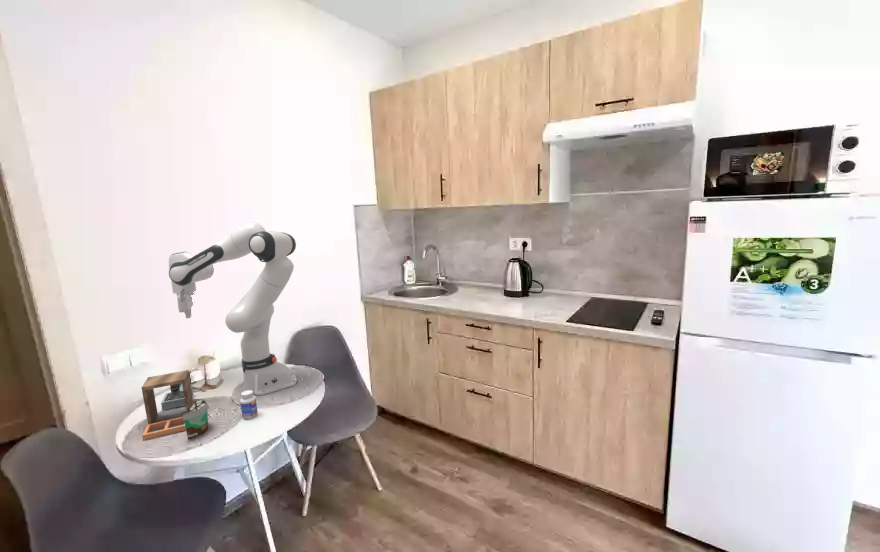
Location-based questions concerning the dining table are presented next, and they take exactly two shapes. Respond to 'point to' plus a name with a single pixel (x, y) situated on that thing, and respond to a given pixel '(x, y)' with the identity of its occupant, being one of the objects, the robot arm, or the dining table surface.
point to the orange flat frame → (164, 428)
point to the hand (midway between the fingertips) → (188, 317)
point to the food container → (196, 418)
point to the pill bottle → (248, 405)
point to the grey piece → (174, 403)
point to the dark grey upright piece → (175, 392)
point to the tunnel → (161, 382)
